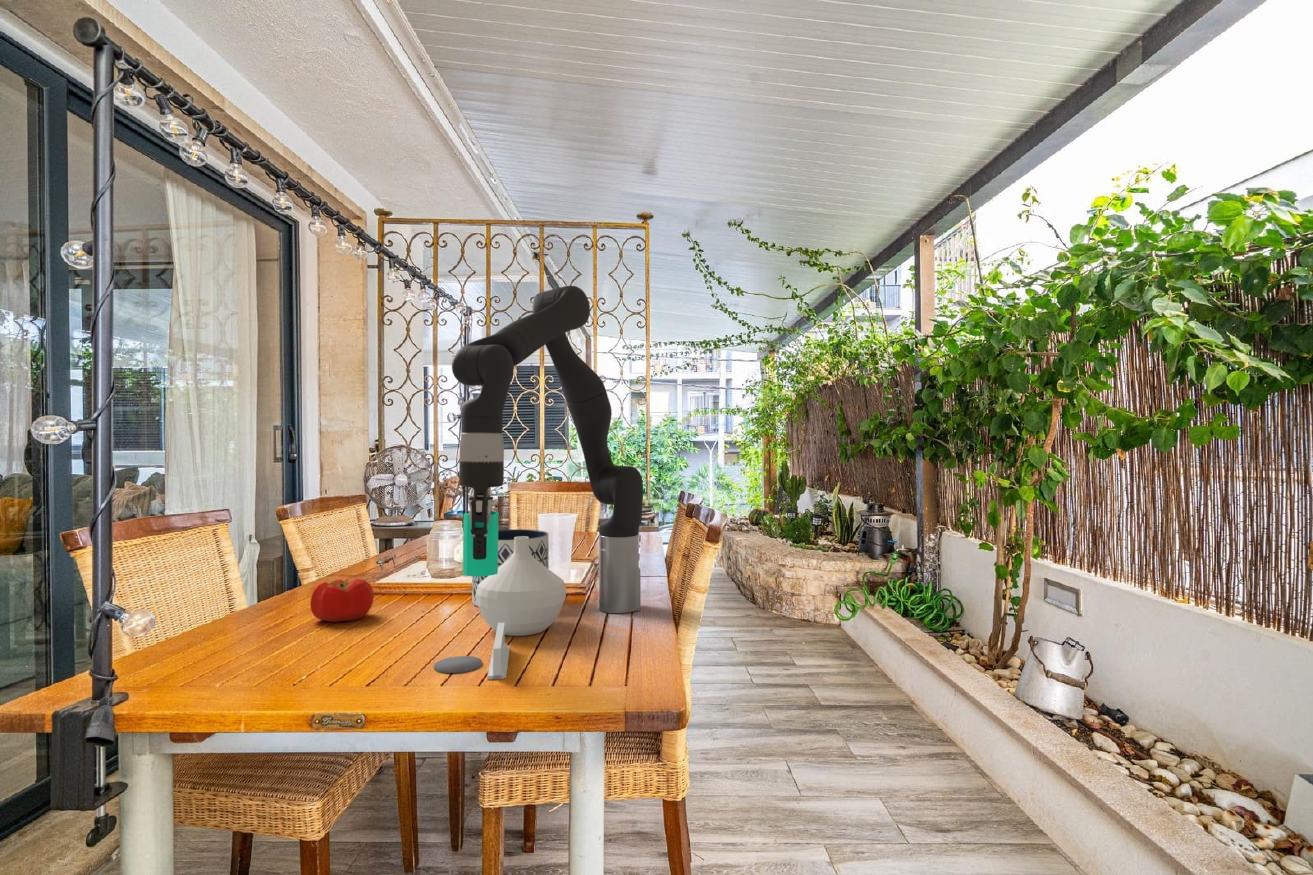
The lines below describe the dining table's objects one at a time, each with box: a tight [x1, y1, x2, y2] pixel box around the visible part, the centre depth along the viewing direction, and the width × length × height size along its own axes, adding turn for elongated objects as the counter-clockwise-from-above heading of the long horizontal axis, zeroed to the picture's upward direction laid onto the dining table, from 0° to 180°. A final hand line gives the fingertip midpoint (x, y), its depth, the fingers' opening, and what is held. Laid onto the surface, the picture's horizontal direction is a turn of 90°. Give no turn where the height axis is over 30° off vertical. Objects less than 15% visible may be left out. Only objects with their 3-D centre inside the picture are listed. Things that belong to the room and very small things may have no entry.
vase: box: [476, 536, 567, 637], centre depth 141 cm, size 18×18×19 cm
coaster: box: [433, 655, 483, 675], centre depth 118 cm, size 8×8×1 cm
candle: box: [462, 511, 499, 577], centre depth 118 cm, size 6×6×12 cm
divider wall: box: [487, 623, 510, 680], centre depth 120 cm, size 3×16×5 cm, turn 10°
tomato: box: [309, 578, 375, 623], centre depth 150 cm, size 13×12×8 cm
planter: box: [471, 529, 550, 607], centre depth 165 cm, size 18×18×16 cm
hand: (480, 555), depth 118 cm, fingers closed on candle, 5 cm apart
